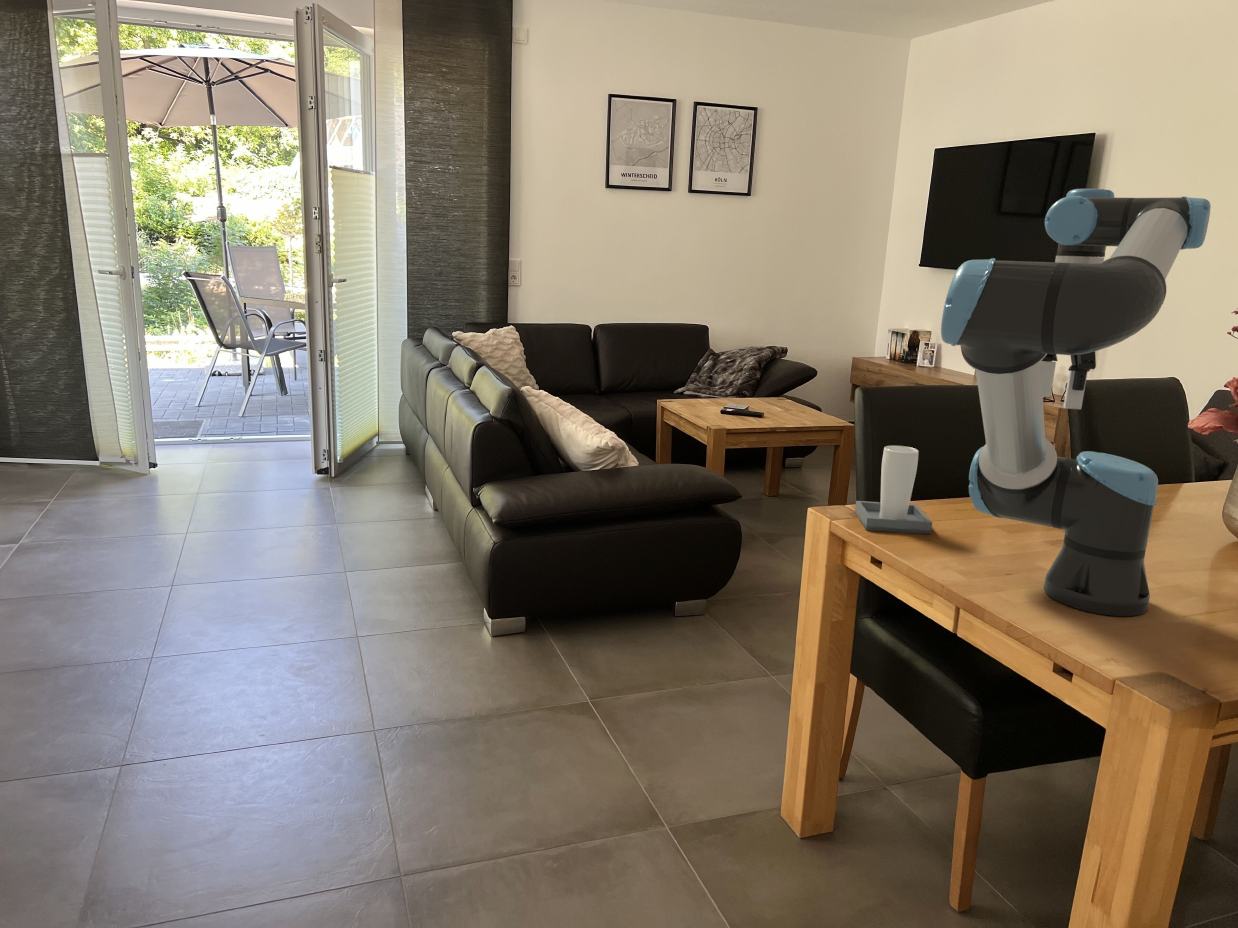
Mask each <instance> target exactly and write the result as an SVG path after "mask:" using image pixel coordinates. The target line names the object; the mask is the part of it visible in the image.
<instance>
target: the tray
mask: <svg viewBox="0 0 1238 928" xmlns="http://www.w3.org/2000/svg"><path fill="white" fill-rule="evenodd" d="M855 511H856V513H857V515H858V516H857V515H856V516H857V518H858V517H859V518H858V519H860V520H859V521H860V523H861V525H862V526H863V528H864V530H865V531H874V532H876V531H877V532H887V533H888V532H889V533H902V534H920V535H932V534H931V533H932V527H933V521H932V520H931V519H930V518H929V517H928V516H927V515H926V513H925V512H923V510H922V509H921V508H920V506H919V505H917V504H913V503H912V504H911V503H909V508H908V513H907V520H905V519H890V518H880V517H879V514H880V502H879V501H865V500H863V501H862V500H856V501H855V508H854V512H855ZM856 513H855V514H856Z"/></svg>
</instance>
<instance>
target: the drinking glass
mask: <svg viewBox="0 0 1238 928" xmlns="http://www.w3.org/2000/svg"><path fill="white" fill-rule="evenodd" d="M882 452H883V454H882V459H881V467H880V468H881V473H880V474H881V475H880V514H879V517H880V518H890V519H905V520H907V513H908V508H909V504H911V498H912V493H913V488H914V483H915V480H916V479H915V478H916V475H917V469H918V462H919V452H920V451H919V450H918V449H917V448H913V447H910V446H904V445H886V446H884V447H883V451H882Z"/></svg>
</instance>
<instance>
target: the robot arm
mask: <svg viewBox="0 0 1238 928" xmlns="http://www.w3.org/2000/svg"><path fill="white" fill-rule="evenodd" d="M1211 205H1212V204H1211V202H1210V201H1209V199H1206V198H1203V197H1202V198H1200V197H1188V196H1181V197H1115V193H1114V192H1113V190H1111V189H1110V190H1109V189H1105V188H1075V189H1071V190H1069V191H1068V192H1067V193H1066V196H1065V197H1062V198H1060V199H1058V200H1057V201H1055V202H1054V203H1053V204H1052V205H1051V206H1050V208H1049V209H1048V211H1047V213H1046V215H1045V218H1044V227H1045V228H1044V229H1045V232H1046V234H1047V235H1048V236H1049V238H1050V239H1052V240H1053V241H1054V242H1056V243H1057V244H1058V245H1057V252H1056V255H1055V260H1054V262H1053V261H1050V262H1049V261H1048V262H1047V261H1022V260H1021V261H1016V260H996V258H994V257H992V258H990V259H971V260H970V259H969V260H967V261H964V262H963V263H961V265H960V266H959V267H958V268H957V270H956V271H955V273H954V275H953V277H952V280H951V282H950V285H949V288H948V290H947V294H946V297H945V301H944V305H943V311H942V316H941V324H940V325H941V326H940V332H941V333H940V335H941V339H942V342H944V344H947V345H951V346H952V347H956V346H960V351H961V356H962V358H963V360H964V361H965V362H966V364H967V365H968V366H970V367H971V368H972V369H974V370H975V375H976V382H977V389H978V395H979V404H980V408H981V409H980V410H981V417H982V425H983V431H984V437H985V444H984V445H983V446H981V447H980V448H978V450H977V451H976V452H975V454H974V456H973V458H972V461H971V464H970V468H969V473H968V481H969V485H968V495H969V498H970V501H971V504H972V505H973V507H974V508H975V509H976V510H977V511H979V512H980V513H982V514H987V515H990V516H992V517H995V518H999V519H1007V520H1008V519H1009V520H1013V521H1017V522H1023V523H1029V524H1035V525H1039V526H1044V527H1050V528H1053V529H1054V528H1055V529H1060V530H1063V531H1065V532H1064V538H1063V543H1062V547H1061V549H1060V550H1059V552H1058V554H1057V556H1056V558H1055V559H1054V561H1053V562H1052V564H1051V566H1050V568H1049V569H1048V571H1047V573H1046V576H1045V577H1044V583H1043V591H1044V592H1045V593H1046V595H1047V596H1049V597H1050V598H1051V599H1052V600H1055V601H1057V602H1059V603H1060V604H1063V605H1067V606H1069V607H1072V608H1075V609H1078V610H1081V611H1085V612H1088V613H1093V614H1099V615H1105V616H1106V615H1107V616H1114V617H1133V616H1139V615H1142V614H1145V613H1146V612H1147V611H1148V609H1149V604H1150V603H1149V602H1150V600H1151V599H1150V597H1151V596H1150V590H1149V589H1150V588H1149V583H1148V579H1147V578H1148V577H1147V572H1146V567H1145V556H1146V551H1147V546H1148V541H1149V536H1150V531H1151V530H1150V529H1151V525H1152V520H1153V519H1152V518H1153V514H1154V507H1155V506H1156V505H1157V502H1158V499H1157V494H1158V487H1159V479H1158V476H1157V474H1156V473H1155V471H1153V470H1152V468H1149V466H1146V465H1145V464H1142V463H1140V462H1137V461H1135V460H1131V459H1129V458H1126V457H1122V456H1118V455H1114V454H1111V453H1109V454H1108V453H1105V452H1097V451H1091V450H1089V451H1088V450H1087V451H1081V452H1080V453H1079V454H1078V455H1077V456H1076V459H1075V458H1068V457H1064V456H1063V457H1062V456H1058V455H1057V454H1058V453H1057V451H1056V449H1055V447H1054V445H1053V443H1051V441H1050V440H1049V439H1047V438H1046V429H1045V413H1044V411H1045V410H1044V397H1046V398H1050V397H1051V396H1052V390H1053V383H1054V376H1055V372H1056V371H1055V370H1056V364H1057V362H1058V360H1059V359H1058V355H1061V356H1062V355H1064V356H1070V361H1071V365H1070V366H1069V367H1068V368H1067V370H1068V377H1067V383H1066V388H1065V389H1066V390H1065V394H1064V395H1065V396H1064V400H1063V409H1070V410H1082V407H1083V402H1084V396H1085V389H1086V383H1087V378H1088V373H1089V372H1090V371H1091V370H1095V369H1096V367H1097V359H1096V352H1097V351H1100V350H1104V349H1106V348H1110V347H1112V346H1114V345H1116V344H1119V343H1121V342H1123V341H1125V340H1126V339H1129V338H1131V337H1132V336H1133V335H1136V334H1137V333H1138V332H1140V331H1141V330H1142V329H1144V328H1146V327H1147V326H1148V325H1149V324H1150V323H1151V322H1152V321H1153V320H1154V318H1156V316H1157V315H1158V313H1159V311H1160V310H1161V308H1162V306H1163V304H1164V301H1166V300H1165V299H1166V296H1167V282H1166V279H1167V277H1168V275H1169V272H1170V270H1171V269H1172V267H1173V265H1174V263H1175V260H1176V259H1177V258H1178V254H1179V253H1180V251H1181V250H1182V251H1183V250H1188V249H1189V250H1193V249H1198V248H1200V247H1202V245H1203V244H1204V242H1205V239H1206V236H1207V233H1208V225H1209V223H1210V215H1211V208H1212V207H1211ZM1107 247H1116V248H1115V249H1114V251H1113V253H1112V255H1111V256H1110V257H1109V258H1106V259H1105V256H1106V249H1107Z"/></svg>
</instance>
